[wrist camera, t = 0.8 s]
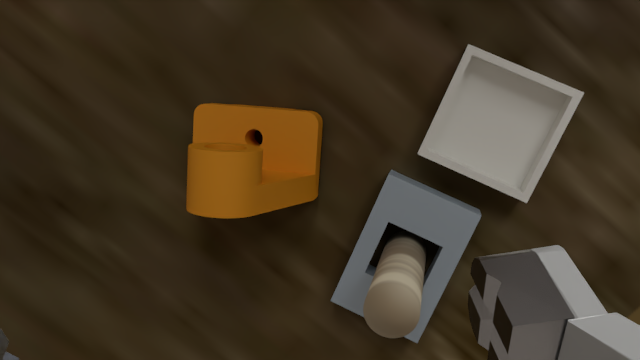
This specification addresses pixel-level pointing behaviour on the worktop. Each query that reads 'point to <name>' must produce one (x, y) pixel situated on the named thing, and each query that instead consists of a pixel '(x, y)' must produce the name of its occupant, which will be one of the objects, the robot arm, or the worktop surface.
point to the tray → (499, 123)
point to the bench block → (421, 219)
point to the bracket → (252, 160)
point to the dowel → (397, 287)
